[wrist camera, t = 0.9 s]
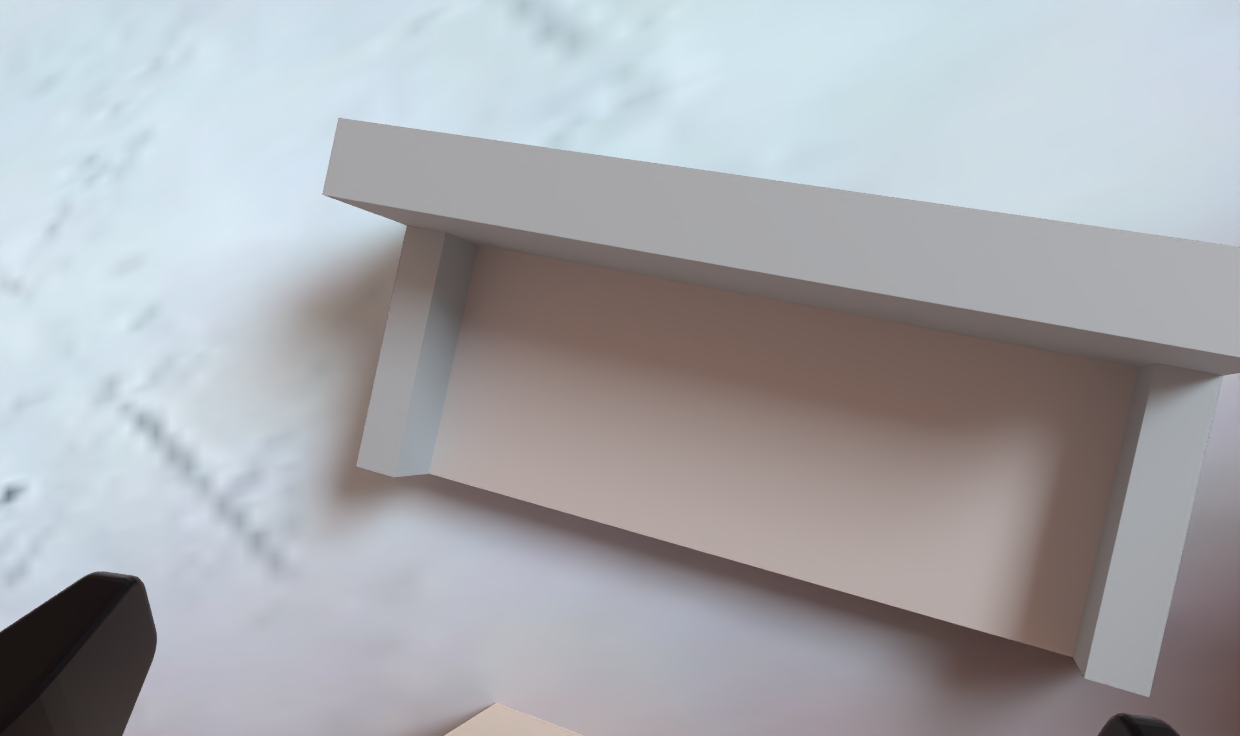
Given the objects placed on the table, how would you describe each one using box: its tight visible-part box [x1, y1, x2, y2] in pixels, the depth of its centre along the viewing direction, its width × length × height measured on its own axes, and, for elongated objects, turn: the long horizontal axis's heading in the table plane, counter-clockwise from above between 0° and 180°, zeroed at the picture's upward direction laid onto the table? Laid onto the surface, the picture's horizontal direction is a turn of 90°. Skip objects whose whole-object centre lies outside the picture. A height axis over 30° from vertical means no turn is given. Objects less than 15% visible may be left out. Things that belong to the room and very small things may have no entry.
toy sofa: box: [322, 118, 1240, 697], centre depth 18 cm, size 7×16×6 cm, turn 77°
